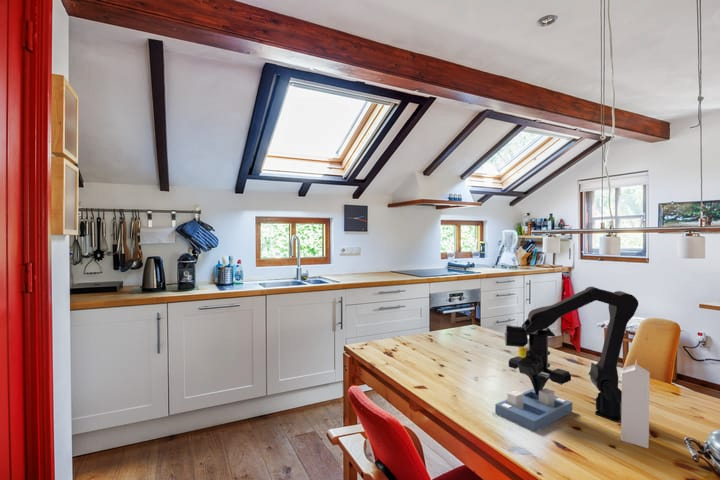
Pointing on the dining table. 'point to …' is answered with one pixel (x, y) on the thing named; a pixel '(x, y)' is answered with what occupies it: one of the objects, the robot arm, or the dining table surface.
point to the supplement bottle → (523, 350)
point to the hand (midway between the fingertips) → (537, 394)
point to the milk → (635, 405)
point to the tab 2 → (547, 397)
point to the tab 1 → (515, 399)
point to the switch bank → (534, 411)
